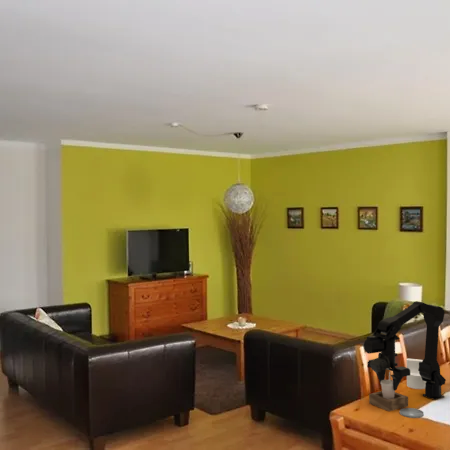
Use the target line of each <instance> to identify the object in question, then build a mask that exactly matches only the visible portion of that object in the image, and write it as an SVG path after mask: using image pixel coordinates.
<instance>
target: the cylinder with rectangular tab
mask: <svg viewBox="0 0 450 450" xmlns="http://www.w3.org/2000/svg"><path fill="white" fill-rule="evenodd" d="M423 360H424V359H416V358H406V368H409V369H410V375H409V376H406V386H407V387H408V388H410V389H413V390H425V386H426V381H423V380H422V378H421V376H420V374H419V371H418V369H419V362H422V361H423Z"/></svg>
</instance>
